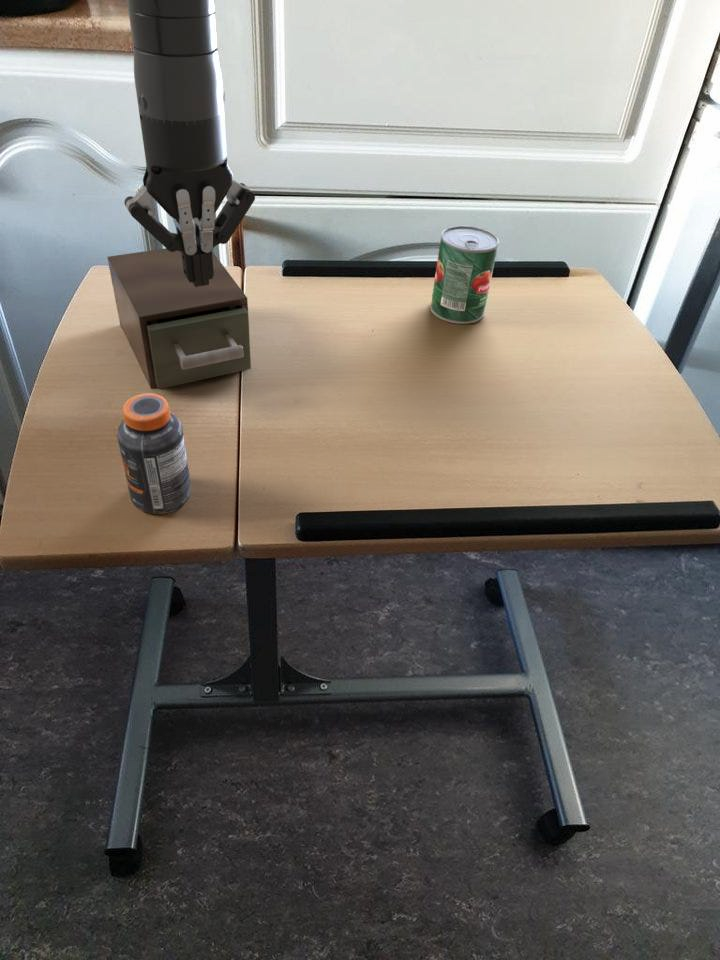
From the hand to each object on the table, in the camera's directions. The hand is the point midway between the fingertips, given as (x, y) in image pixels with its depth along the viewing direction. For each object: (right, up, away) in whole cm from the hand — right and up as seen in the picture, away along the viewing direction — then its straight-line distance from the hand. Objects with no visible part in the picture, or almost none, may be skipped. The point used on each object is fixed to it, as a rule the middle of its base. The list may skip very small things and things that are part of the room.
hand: (199, 282), depth 75 cm
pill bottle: (-3, -23, -4) cm, 23 cm away
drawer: (-4, -6, +13) cm, 15 cm away
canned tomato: (+31, +4, +28) cm, 42 cm away
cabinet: (-6, -4, +16) cm, 18 cm away
